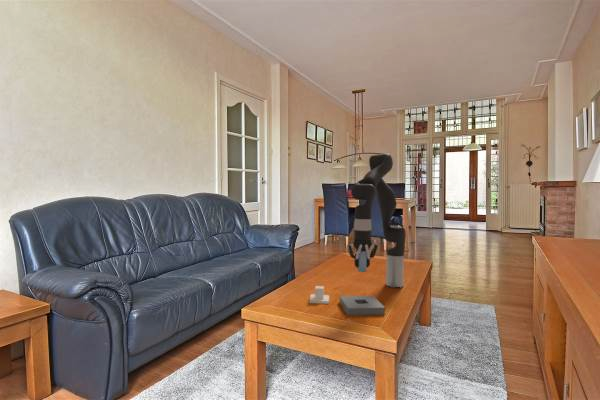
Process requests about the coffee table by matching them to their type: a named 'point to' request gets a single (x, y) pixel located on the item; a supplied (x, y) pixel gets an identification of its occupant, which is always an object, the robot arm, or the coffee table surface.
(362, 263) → the peg
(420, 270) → the coffee table surface
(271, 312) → the coffee table surface
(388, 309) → the coffee table surface
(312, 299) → the lid
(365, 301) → the socket plate
